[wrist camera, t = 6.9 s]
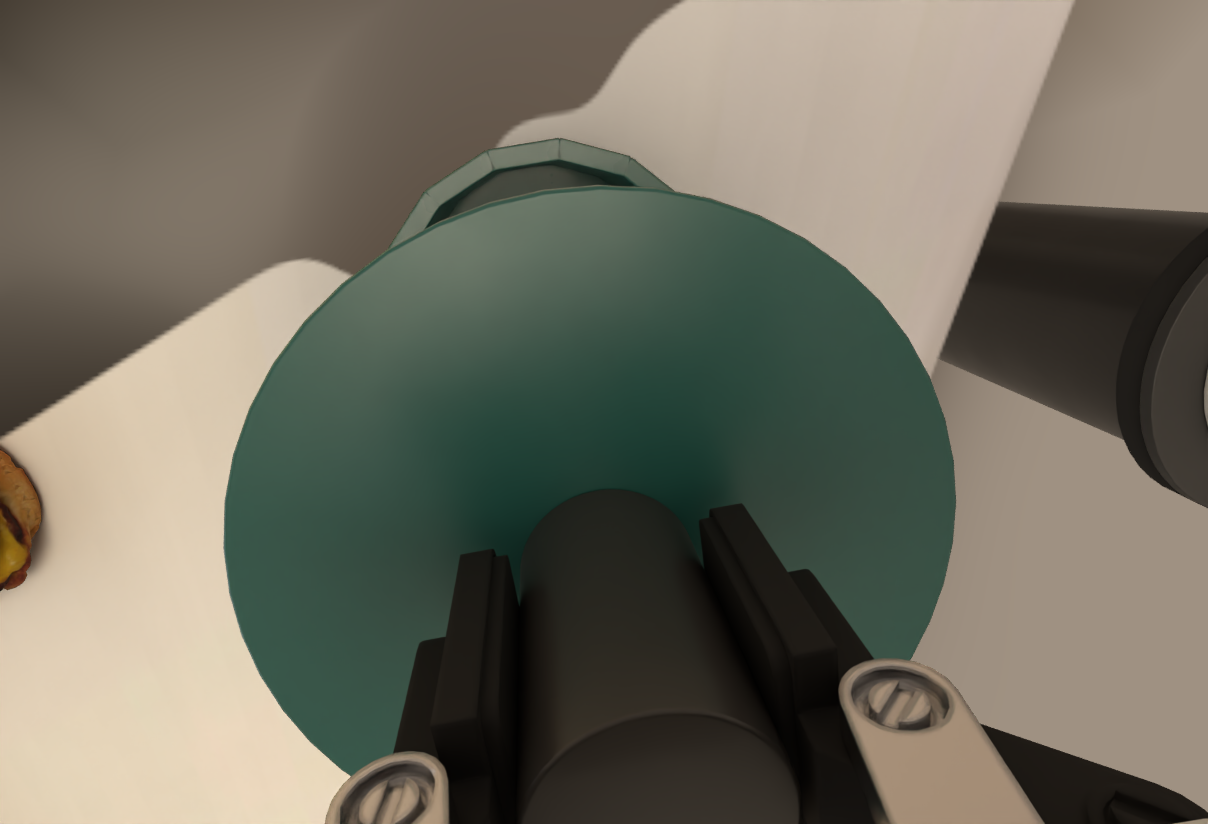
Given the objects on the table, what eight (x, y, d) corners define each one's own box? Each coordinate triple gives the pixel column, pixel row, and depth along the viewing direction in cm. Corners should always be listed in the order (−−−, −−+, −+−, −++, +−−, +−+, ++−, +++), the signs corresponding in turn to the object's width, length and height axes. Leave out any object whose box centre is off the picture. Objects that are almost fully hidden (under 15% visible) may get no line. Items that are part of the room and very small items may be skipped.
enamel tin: (658, 129, 32) (705, 113, 24) (691, 390, 36) (739, 451, 28) (382, 174, 31) (335, 174, 23) (446, 435, 35) (425, 511, 27)
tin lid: (923, 128, 12) (1347, 77, 6) (925, 736, 17) (1172, 1083, 10) (140, 252, 12) (-323, 343, 5) (353, 851, 16) (236, 1299, 10)
